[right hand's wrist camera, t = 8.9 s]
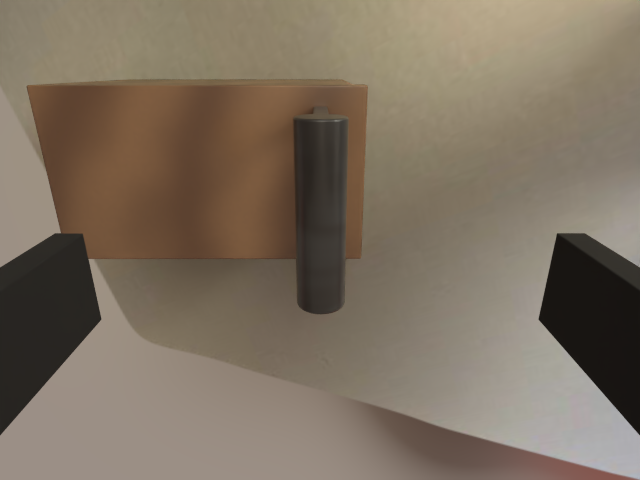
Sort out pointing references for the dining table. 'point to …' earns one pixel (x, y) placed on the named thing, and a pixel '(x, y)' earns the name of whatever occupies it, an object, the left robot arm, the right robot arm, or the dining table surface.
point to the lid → (211, 174)
